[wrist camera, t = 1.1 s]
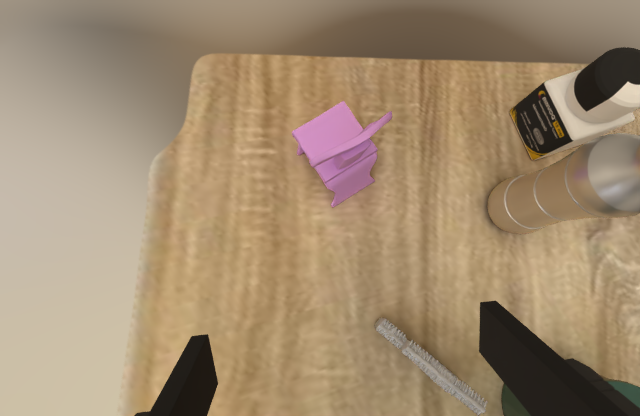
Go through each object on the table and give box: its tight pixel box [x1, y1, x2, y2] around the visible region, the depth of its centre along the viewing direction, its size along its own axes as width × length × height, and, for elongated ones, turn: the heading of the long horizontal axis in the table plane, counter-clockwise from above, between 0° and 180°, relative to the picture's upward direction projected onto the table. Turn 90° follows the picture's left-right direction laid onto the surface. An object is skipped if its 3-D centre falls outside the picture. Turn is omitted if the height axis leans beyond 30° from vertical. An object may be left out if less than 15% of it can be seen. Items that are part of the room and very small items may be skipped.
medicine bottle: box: [509, 48, 640, 160], centre depth 35 cm, size 7×7×12 cm
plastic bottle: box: [488, 133, 640, 234], centre depth 29 cm, size 6×7×20 cm
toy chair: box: [292, 101, 392, 208], centre depth 33 cm, size 8×9×15 cm
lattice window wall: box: [375, 317, 488, 416], centre depth 33 cm, size 12×2×6 cm, turn 51°
